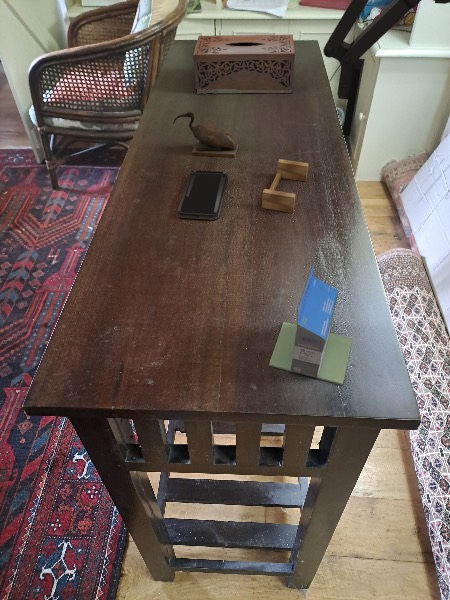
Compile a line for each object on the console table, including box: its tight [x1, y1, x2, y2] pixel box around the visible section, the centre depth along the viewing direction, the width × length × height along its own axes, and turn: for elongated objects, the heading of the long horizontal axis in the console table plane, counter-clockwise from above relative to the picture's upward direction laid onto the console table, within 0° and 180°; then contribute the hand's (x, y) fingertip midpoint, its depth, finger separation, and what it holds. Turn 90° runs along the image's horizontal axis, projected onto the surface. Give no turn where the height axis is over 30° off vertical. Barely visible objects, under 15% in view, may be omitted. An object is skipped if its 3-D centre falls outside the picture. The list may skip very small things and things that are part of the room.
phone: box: [177, 169, 229, 221], centre depth 90 cm, size 8×1×15 cm
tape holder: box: [261, 158, 309, 214], centre depth 89 cm, size 6×12×4 cm, turn 161°
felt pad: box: [268, 321, 353, 386], centre depth 64 cm, size 10×8×1 cm
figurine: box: [172, 111, 239, 159], centre depth 100 cm, size 14×4×9 cm, turn 80°
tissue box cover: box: [192, 33, 296, 91], centre depth 124 cm, size 26×14×10 cm, turn 87°
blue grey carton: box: [289, 262, 339, 379], centre depth 59 cm, size 9×4×12 cm, turn 160°
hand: (415, 138), depth 46 cm, fingers open, 13 cm apart
